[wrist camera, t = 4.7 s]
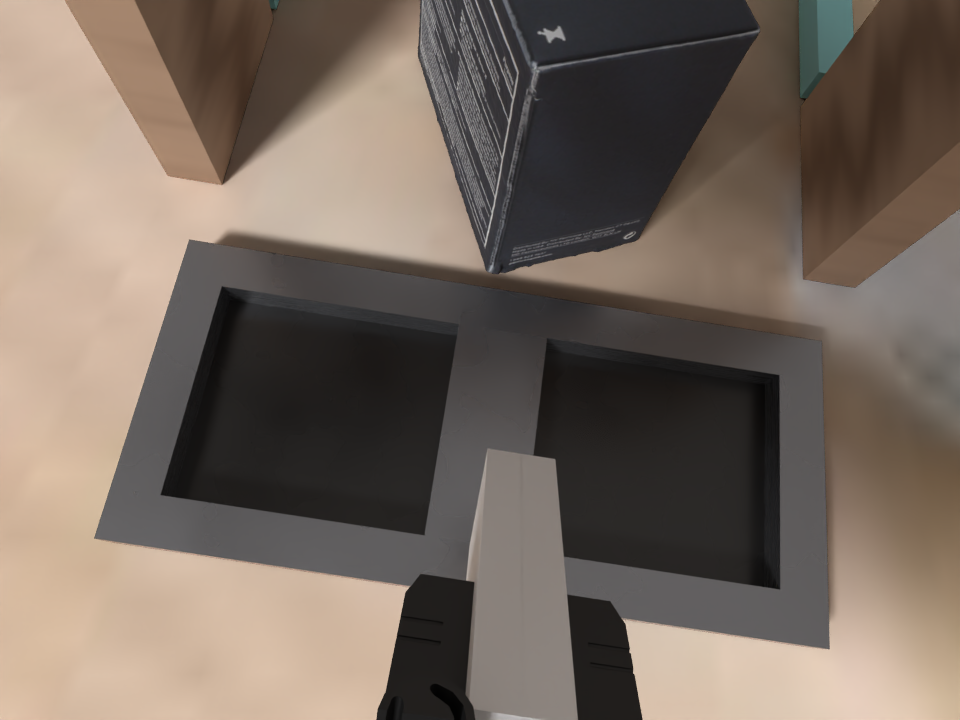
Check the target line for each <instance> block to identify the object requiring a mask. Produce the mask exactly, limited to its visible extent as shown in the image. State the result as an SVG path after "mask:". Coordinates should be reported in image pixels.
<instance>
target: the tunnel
mask: <svg viewBox="0 0 960 720" xmlns="http://www.w3.org/2000/svg"><path fill="white" fill-rule="evenodd" d="M65 2H66V3H67V5H68V7H69V8H70V10H71V12H72V14H73V15H74V17H75V19H76V20H77V22H78V24H79V25H80V27H81V29H82V31H83V32H84V34H85V36H86V37H87V39H88V41H89V42H90V44H91V46H92V48H93V49H94V51H95V53H96V54H97V56H98V58H99V59H100V61H101V63H102V65H103V66H104V68H105V70H106V71H107V73H108V75H109V76H110V78H111V80H112V82H113V83H114V85H115V87H116V88H117V90H118V92H119V93H120V95H121V97H122V99H123V100H124V102H125V104H126V105H127V107H128V109H129V111H130V112H131V114H132V116H133V117H134V119H135V121H136V122H137V124H138V126H139V128H140V129H141V131H142V133H143V134H144V136H145V138H146V139H147V141H148V143H149V145H150V146H151V148H152V150H153V151H154V153H155V155H156V156H157V158H158V160H159V162H160V163H161V165H162V167H163V168H164V170H165V172H166V173H167V175H168V176H171V177H177V178H183V179H189V180H196V181H202V182H208V183H214V184H220V185H222V183H223V180H224V177H225V173H226V170H227V167H228V164H229V160H230V157H231V154H232V151H233V148H234V144H235V141H236V138H237V135H238V131H239V128H240V125H241V122H242V118H243V115H244V112H245V109H246V106H247V102H248V99H249V96H250V93H251V89H252V86H253V83H254V80H255V77H256V73H257V70H258V67H259V64H260V60H261V57H262V54H263V51H264V48H265V44H266V41H267V38H268V35H269V31H270V28H271V25H272V22H273V15H272V11H271V7H270V3H269V0H65ZM800 115H801V176H802V237H803V279H805V280H811V281H817V282H824V283H830V284H836V285H842V286H848V287H854V288H855V287H856V286H858V285H859V284H860V283H862V282H863V281H864V280H866V279H867V278H868V277H870V276H871V275H872V274H874V273H875V272H876V271H878V270H879V269H880V268H882V267H883V266H884V265H886V264H887V263H888V262H890V261H891V260H892V259H894V258H895V257H896V256H898V255H899V254H900V253H902V252H903V251H904V250H906V249H907V248H908V247H910V246H911V245H912V244H914V243H915V242H916V241H918V240H919V239H920V238H922V237H923V236H924V235H926V234H927V233H928V232H930V231H931V230H932V229H934V228H935V227H936V226H938V225H939V224H940V223H942V222H943V221H944V220H946V219H947V218H948V217H950V216H951V215H952V214H954V213H955V212H956V211H958V210H959V209H960V0H880V1H879V3H878V4H877V5H876V7H875V8H874V9H873V11H872V12H871V13H870V15H869V16H868V17H867V19H866V20H865V21H864V23H863V24H862V25H861V27H860V28H859V29H858V31H857V32H856V33H855V35H854V36H853V37H852V39H851V40H850V41H849V43H848V44H847V45H846V47H845V48H844V49H843V51H842V52H841V54H840V55H839V56H838V58H837V59H836V60H835V62H834V63H833V64H832V66H831V67H830V68H829V70H828V71H827V72H826V74H825V75H824V76H823V78H822V79H821V80H820V82H819V83H818V84H817V86H816V87H815V88H814V90H813V91H812V92H811V94H810V95H809V96H808V98H807V99H806V100H805V102H804V103H803V104H802V106H801V107H800Z"/></svg>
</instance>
